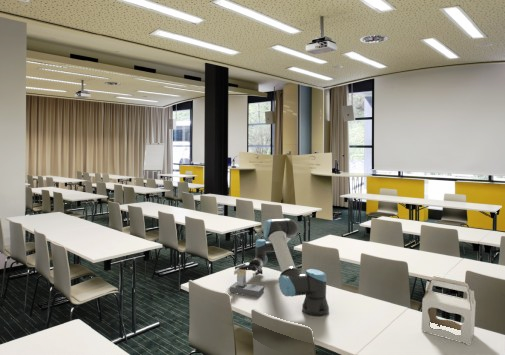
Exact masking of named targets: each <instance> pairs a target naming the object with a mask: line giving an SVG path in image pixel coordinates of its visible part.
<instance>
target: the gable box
mask: <svg viewBox="0 0 505 355" xmlns="http://www.w3.org/2000/svg"><path fill="white" fill-rule="evenodd" d="M434 286H435V287H440V288H444V289H450V290H455V291H458V292H459V291H460V292H463V293H466V295H467V296H466V298H462V297H458V296H453V295H449V294H446V293H441V292H436V291H433V287H434ZM476 304H477V301H476V299H475V290H471V288H470V287H469V283H468V282H464V281H460V280H459V281H458V280H453V279H449V278H444V277H440V276H432V278H431V281H428V280H426V284H425V292H424V295H423V297H422V303H421V306H422V307H421V308H422V309H421V330H422V331H425V332H428V333H427V334H429V333H432V334H436V335H439V336H443V337H447V338H450V339H453V340H457V341H460V342H463V343H467V344H470V345H471V343H472V341H473V339H474V336H473V335H475V324H476V323H475V322H476ZM437 309H439V310H441V311H444V312H447V313H449V314H457V315H460V316H462V317H463V318H464V320H463V322H462V324H460V323H457V322H456V321H453V320H451V319H440V318H438V317H437V316H436V315H437V311H438V310H437ZM430 322H431V323H435V324H438V325H437V326H439V327H440V325H442V326H446V327H450V328H454V329H457V330H461V335H455V334H453V333H451V332H449V331H446V330H442V329H433V328H431V327H430ZM421 330H420V331H421ZM422 331H421V332H422ZM425 332H424V333H425ZM432 334H431V335H432ZM436 335H435V336H436ZM439 336H438V337H439ZM443 337H442V338H443ZM453 340H452V341H453ZM460 342H459V343H460ZM470 342H471V343H470ZM463 343H462V344H463ZM467 344H466V345H467Z"/></svg>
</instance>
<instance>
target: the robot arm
mask: <svg viewBox="0 0 505 355" xmlns="http://www.w3.org/2000/svg"><path fill="white" fill-rule="evenodd" d="M262 233H263V237H264V238H265V239H264V238H258V239H256V240H255V257H254V258H253V259H252V260H251V261H250V262H249V264H246V263H244V264H240V265H237V266H234V270H233V275H237V271H238V270H239V269H242V270H246V271H253V272H252V278H255V277H256V276H258V275H263V266H265V264H266V263H267V262H268V256H267V253H273V252H275V253H274V254H275V256H276V259H277V263H278V266H279V269H280V271H281V273H280V275H279V277H278V287H279V289H280V292H281V294H282V295H283V296H285V297H297V296H304V300H303V304H302V306H301V307H302V308H301V310H302V311H303V313H304V314H306V315H308V316H314V317H322V316H326V315H327V314H329V312H330V307H329V304H328V300H327V282H328V281H327V275H326V273H325V272H323V271H321V270H320V269H314V268H309V269H308V268H307V269H306V270H305V273H301V272H300V270H299V268H298V267H296V264H295V263H294V260H293V257H292V253H291V251H290V249H289V246H288V242H289V241H291V239H294V238H295V237H296V236H297V235H298V233H299V225H298V224H297V222H296V221H295V220H293V219H290V218H275V219H272V218H270V219H266V220H265V221H264V222H263V232H262ZM266 239H268V241H266ZM266 265H267V264H266Z"/></svg>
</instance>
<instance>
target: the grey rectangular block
mask: <svg viewBox="0 0 505 355" xmlns="http://www.w3.org/2000/svg"><path fill="white" fill-rule="evenodd" d="M230 292H232V293H231V294H235V293H238V294H237V295H240V294H243V295H242V296H246V295H247V296H248V297H251V298H252V297H253V298H260V297H261V296H262V295H263V294H264V293H265V286H263V285H257V284H252V283H251V284H250V283H246V286H245V287H244V288H241V287H237V281H236V282H234V283H233V284H232V285H231V286H229V293H230Z"/></svg>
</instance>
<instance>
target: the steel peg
mask: <svg viewBox="0 0 505 355" xmlns="http://www.w3.org/2000/svg"><path fill="white" fill-rule="evenodd" d="M236 282H237V287H241V288H244V287H245V286H246V284H247V270H242V269H239V270H238V271H237V274H236Z"/></svg>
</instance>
